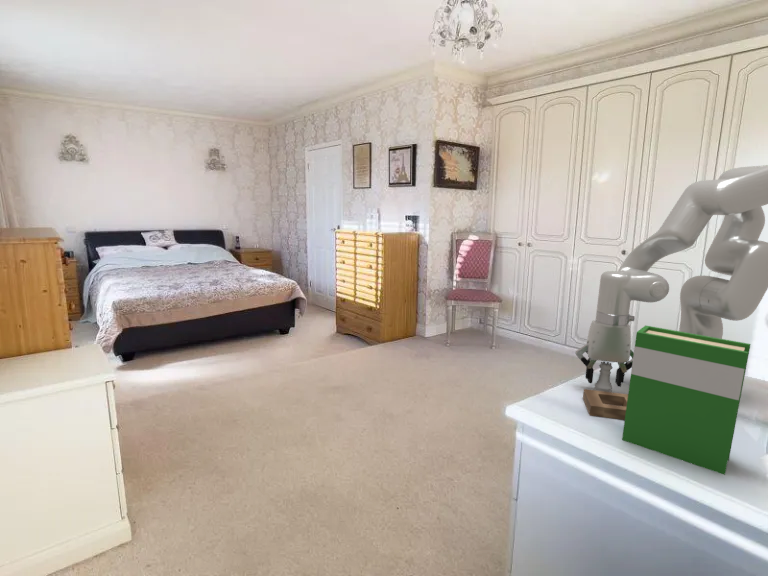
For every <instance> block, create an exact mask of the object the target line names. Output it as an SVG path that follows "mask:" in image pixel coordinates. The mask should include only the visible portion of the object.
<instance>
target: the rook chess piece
mask: <svg viewBox="0 0 768 576" xmlns="http://www.w3.org/2000/svg"><path fill="white" fill-rule="evenodd" d="M598 366H599V368H600V370H599V376H598V379H597V381H596V382H595V383H594V387H593V390H596V391H604V392H612V393H613V390H612V389H613V386H612V383H611V378H610V376H611V374H612V372H611V370H612V369H613V366H612V362H609V361H601V362H600V364H599V365H598Z"/></svg>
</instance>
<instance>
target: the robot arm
mask: <svg viewBox="0 0 768 576" xmlns="http://www.w3.org/2000/svg"><path fill="white" fill-rule="evenodd" d="M766 205H768V164H766V165H765V164H764V165H755V166H753V165H751V166H741V167H736V168H731V169H728V170H726V171H724V172H723V173H722V174H721V175H720V176H719V177H718V179H706V180H704V179H703V180H699V181H698V180H697V181H695V182H693V183H691V184H689V185H688V186H686V188H685V189H684V191H683V192H682V194H681V195H680V197H679V198H678V200H677V201H676V202H675V205H674V206H673V208H672V209H671V211H670V212H669V214H668V215H667V217H666V218H665V220H664V222H663V223H662V225H661V226H660V227H659V228H658V230H657V231H656V232H654V233H653V234H652V235H650V236H648V237H647V238H646V239H645V240H643V241H642V242H641V243H639V245H637V246H636V247H635V248H633V250H631V252H630V253H628V255H627V256H626V257H625V259H624V261H623V262H622V264H620V265H621V266H620V267H619V269H618V270H615V271H613V270H610V271H609V270H607V271H605V272H603V273H602V274H601V275H600V280H599V281H600V282H599V289H598V296H597V297H598V298H597V304H596V314H595V320H592V321H591V323H590V327H589V330H588V333H587V338H586V344H584V345H583V346H581V347H580V348H578V349H577V350H575V352H574V353H575V355H576V356H577V358H578V359H579V360H580V361H581V363H583V365H584V366H585V367H586V369H585V379H586V380H587V382H588V384H592V383H593V380H594V365H595V364H596V362H597V361H599V362H600V361H601V362H609V363H617V365H618V368H617V369H616V371H615V373H616V374H615V381H614V383H615V385H616V386H617V387H620V388H621V387H622V384H623V383H624V382H625V381H624V380H625V375H626V373H627V372H628V371H629V370H630V369H632V363H633V356H634V350H632V347H631V346H632V343H631V342H632V334H631V332H632V331H631V325H630V322H634V321H635V316H634V315H631V314H630V310H631V309H630V308H631V303H632V301H635V302H642V303H657V302H660V301H662V300H663V299H665V298H666V297H667V295H668V294H669V292H670V284H669V282H668V281H667V279H666V278H665V277H664V276H662V275H660V274H657V273H654V272H650V271H649V270H650V268H652V266H653V265H655V264H656V263H657V262H658V261H659V260H662V259H663V258H665V257H668V256H669V255H673V254H676V253H679V252H682V251H685V250H688V249H689V248H691V247H693V246H694V244H695V243H696V241H697V239H698V238H699V237H700V235H701V234H702V231H704V229H705V227H706V226H707V224H708V223H709V222H710V220H711V219H712V217H713V216H723V219H722V220H723V221H722V222H721V225H720V227H719V229H718V230H717V233H716V235H715V236H714V239H713V241H712V242H711V244H710V246H709V248H708V250H707V252H706V254H705V258H704V264H705V266H706V267H707V269H708V270H710V271H712V272H715V273H718V274H721V275H726V276H731V277H730V279H726V278H720V277H717V276H710V275H696V276H692V277H690V278H688V279H687V280H685V282H684V283H683V284H682V286H681V287H680V288H681V289H680V293H679V296H680V297H679V299H680V319H679V320H680V323H679V329H678V331H680V332H686V333H691V334H697V335H702V336H708V337H714V338H719V339H723V334H724V325H723V324H724V323H723V320H722V319H725V320H729V321H737V322H738V321H742V320H746V319H747V318H749V317H750V316H751V315H752V314H753V313H754V312H755V311H756V310H757V308H758V307H759V305H760V303H761V301H762V299H764V296H765V294H766V292H767V291H768V241H767V242H766V241H764V240H759V238H760V236H761V235H762V232H763V229H764V227H765V224H766V216H765V211H764V209H763V206H766ZM584 353H586V354H587V356H588V358H586V357H585V356H584V355H583V354H584ZM630 358H631V359H630Z"/></svg>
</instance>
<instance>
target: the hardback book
mask: <svg viewBox="0 0 768 576" xmlns="http://www.w3.org/2000/svg"><path fill="white" fill-rule="evenodd" d="M750 349H751V343H746V342H743V341H742V342H741V341H736V340H730V339H726V338H725V339H724V338H722V339H719V338H714V337H708V336H702V335H697V334H691V333H686V332H680V331H679V330H673V329H669V328H668V329H667V328H662V327H657V326H651V325H644V326H643V327H641V328H640V329H639V330H638V331H636V335H635V341H634V349H633V352H634V356H633V363H632V368H631V372H630V377H629V378H630V380H629V384H628V385H629V386H628V393H627V394H628V400H627V407H626V414H625V420H624V423H623V431H622V438H621V440H622V441H624V442H627V443H630V444H633V445H635V446H638V447H642V448H644V449H648V450H650V451H653V452H656V453H659V454H663V455H664V456H668V457H671V458H674V459H677V460H680V461H682V460H683V461H682V462H686V463H688V464H691V463H692V464H691V465H694V466H697V467H699V468H704V469H706V470H708V471H712V472H715V473H717V474H721V475H724V476H725V475H726V472H727V465H728V461H730V455H731V451H732V450H731V449H732V445H733V440H734V439H733V438H734V436H735V435H734V434H735V429H736V423H737V420H738V413H739V409H740V402H741V397H742V391H743V386H744V382H745V377H746V376H745V375H746V370H747V366H748V361H749V360H748V359H749V354H750Z"/></svg>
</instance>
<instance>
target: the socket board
mask: <svg viewBox="0 0 768 576" xmlns="http://www.w3.org/2000/svg"><path fill="white" fill-rule="evenodd" d="M582 400H583V402H584V405H585V407H586V409H587V412H588V414H589V416H593V417H597V418H598V417H599V418H606V419H613V420H614V419H615V420H620V421H621V420H622V421H625V414H626V407H627V400H628V393H619V392H613V391H612V392H604V391H596V390H595V389H585V388H584V389H583V394H582Z"/></svg>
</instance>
